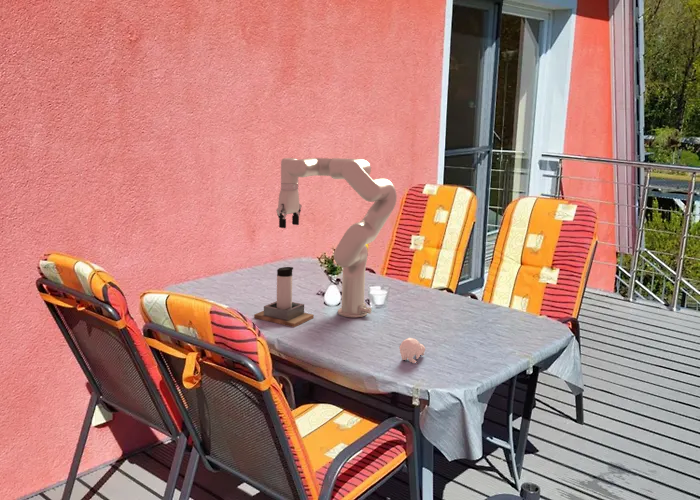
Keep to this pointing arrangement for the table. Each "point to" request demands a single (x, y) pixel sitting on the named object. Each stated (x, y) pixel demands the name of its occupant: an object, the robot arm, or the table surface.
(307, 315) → the walnut stand
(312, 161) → the robot arm
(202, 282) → the table surface
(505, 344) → the table surface
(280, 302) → the travel mug
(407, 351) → the pink animal figurine
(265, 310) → the gray square tray
